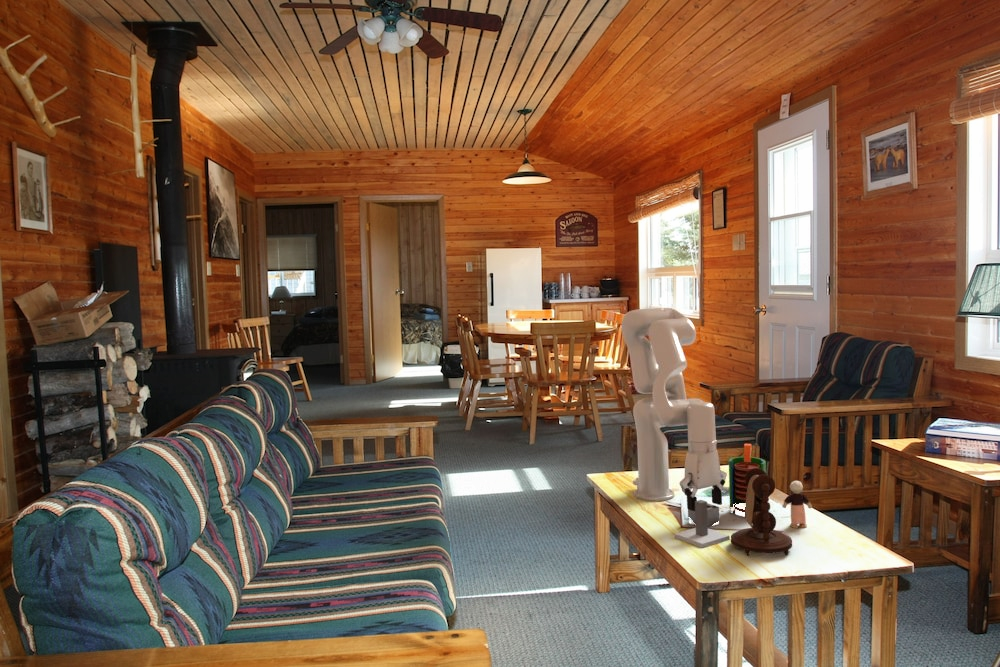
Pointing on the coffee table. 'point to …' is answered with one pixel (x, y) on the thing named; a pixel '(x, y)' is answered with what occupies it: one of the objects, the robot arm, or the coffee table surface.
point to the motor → (742, 475)
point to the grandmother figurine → (797, 505)
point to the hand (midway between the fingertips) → (704, 506)
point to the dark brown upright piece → (760, 518)
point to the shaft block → (701, 529)
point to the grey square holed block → (711, 514)
